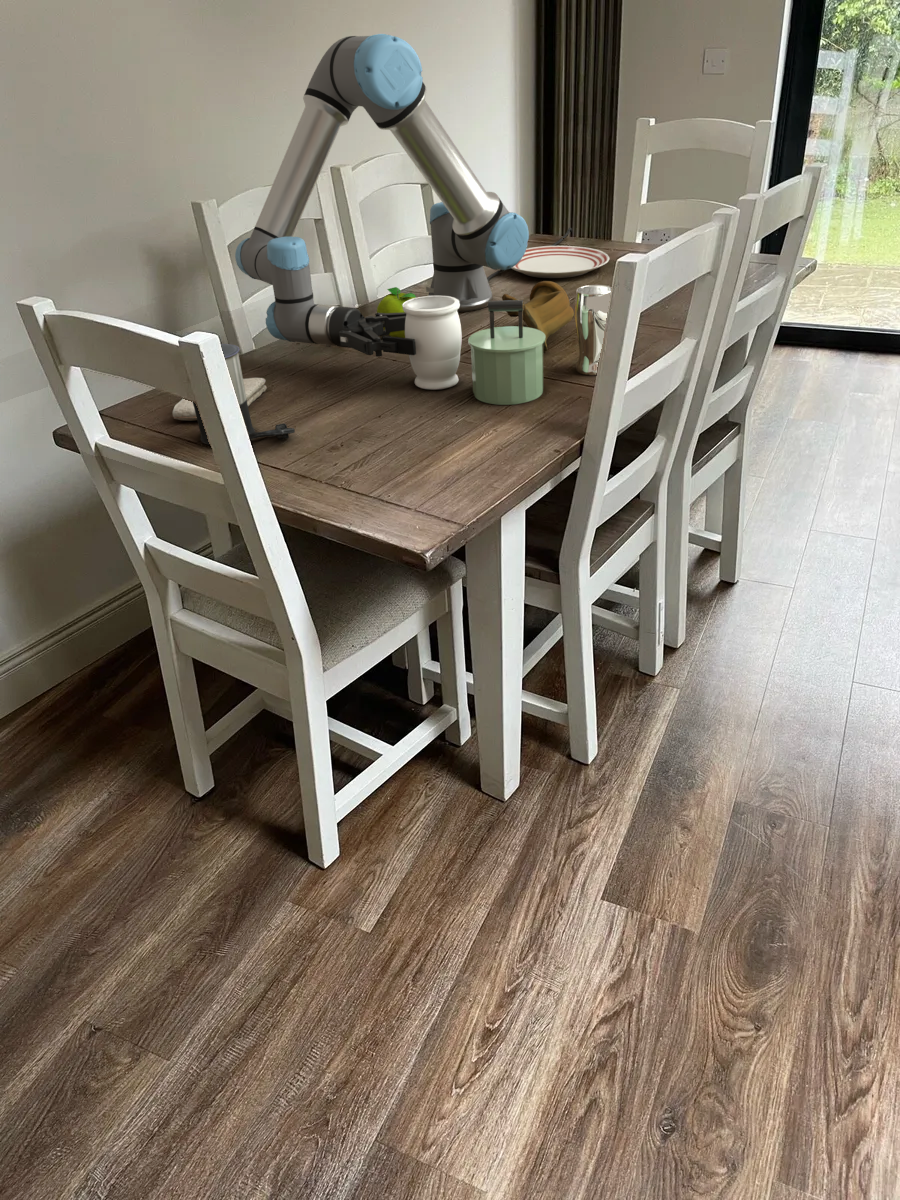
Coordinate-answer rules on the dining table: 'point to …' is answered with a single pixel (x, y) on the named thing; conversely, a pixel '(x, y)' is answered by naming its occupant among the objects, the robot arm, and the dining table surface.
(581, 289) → the beer glass
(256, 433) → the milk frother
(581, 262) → the dinner plate
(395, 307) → the fruit
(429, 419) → the dining table surface
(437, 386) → the jar
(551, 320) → the brown looped sculpture
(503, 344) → the pot lid
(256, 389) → the washcloth
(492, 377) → the pot
